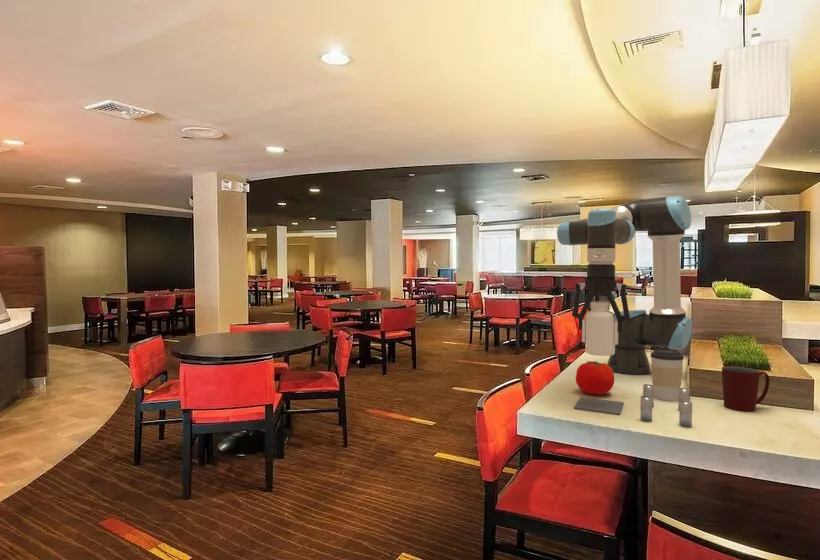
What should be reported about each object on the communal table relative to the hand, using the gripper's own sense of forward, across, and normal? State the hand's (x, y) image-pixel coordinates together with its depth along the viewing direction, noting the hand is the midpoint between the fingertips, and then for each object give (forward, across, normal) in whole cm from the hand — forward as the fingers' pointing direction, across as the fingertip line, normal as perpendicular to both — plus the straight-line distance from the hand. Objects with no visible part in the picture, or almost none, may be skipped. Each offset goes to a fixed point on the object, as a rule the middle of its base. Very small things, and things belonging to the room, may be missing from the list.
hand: (599, 342), depth 138 cm
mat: (+19, 0, 0) cm, 19 cm away
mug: (+19, +37, +18) cm, 45 cm away
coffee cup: (+19, +17, +19) cm, 32 cm away
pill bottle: (+3, 0, 0) cm, 3 cm away
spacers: (+19, +17, 0) cm, 25 cm away
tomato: (+19, -3, +14) cm, 24 cm away
